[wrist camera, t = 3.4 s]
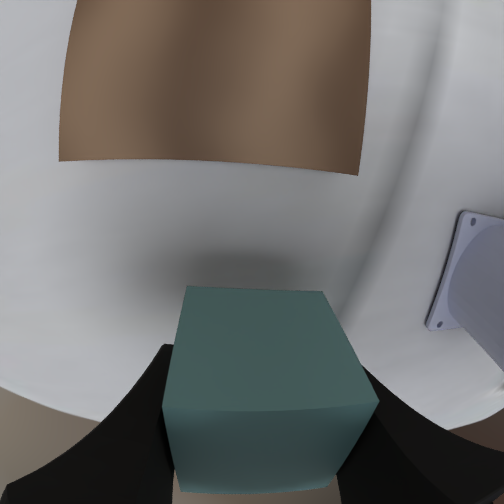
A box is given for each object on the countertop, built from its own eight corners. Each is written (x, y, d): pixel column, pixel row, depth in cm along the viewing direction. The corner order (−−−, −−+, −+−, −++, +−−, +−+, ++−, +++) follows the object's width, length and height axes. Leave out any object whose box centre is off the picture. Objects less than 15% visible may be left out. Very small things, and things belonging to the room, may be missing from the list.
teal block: (322, 291, 10) (379, 401, 6) (299, 384, 12) (326, 486, 7) (187, 285, 10) (161, 406, 5) (190, 382, 12) (180, 491, 7)
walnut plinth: (353, -46, 9) (368, -63, 7) (340, 169, 13) (358, 175, 11) (114, -58, 8) (103, -76, 6) (79, 156, 12) (58, 161, 10)
